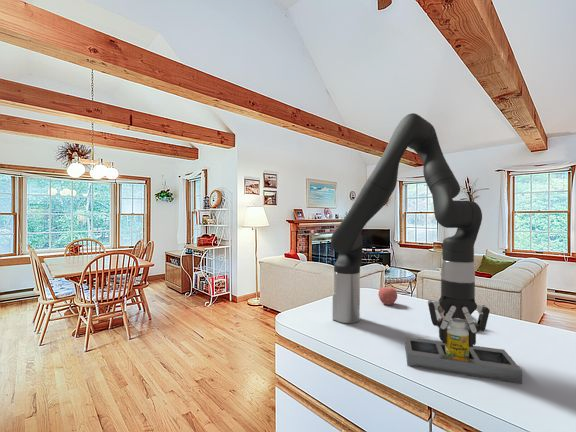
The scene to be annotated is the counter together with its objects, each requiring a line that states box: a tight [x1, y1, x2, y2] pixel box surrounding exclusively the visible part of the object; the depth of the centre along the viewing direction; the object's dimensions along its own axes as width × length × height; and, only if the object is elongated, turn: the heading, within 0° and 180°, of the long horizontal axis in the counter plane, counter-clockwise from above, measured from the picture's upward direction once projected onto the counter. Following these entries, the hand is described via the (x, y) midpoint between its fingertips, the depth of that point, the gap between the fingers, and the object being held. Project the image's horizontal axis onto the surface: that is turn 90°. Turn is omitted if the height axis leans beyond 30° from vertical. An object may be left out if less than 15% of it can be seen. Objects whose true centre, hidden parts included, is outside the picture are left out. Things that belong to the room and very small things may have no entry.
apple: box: [378, 285, 398, 306], centre depth 125 cm, size 7×7×8 cm
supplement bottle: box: [445, 318, 469, 359], centre depth 75 cm, size 5×5×10 cm
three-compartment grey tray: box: [404, 336, 523, 385], centre depth 75 cm, size 24×11×3 cm, turn 71°
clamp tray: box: [435, 305, 477, 330], centre depth 106 cm, size 11×19×3 cm, turn 161°
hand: (457, 343), depth 75 cm, fingers closed on supplement bottle, 5 cm apart
